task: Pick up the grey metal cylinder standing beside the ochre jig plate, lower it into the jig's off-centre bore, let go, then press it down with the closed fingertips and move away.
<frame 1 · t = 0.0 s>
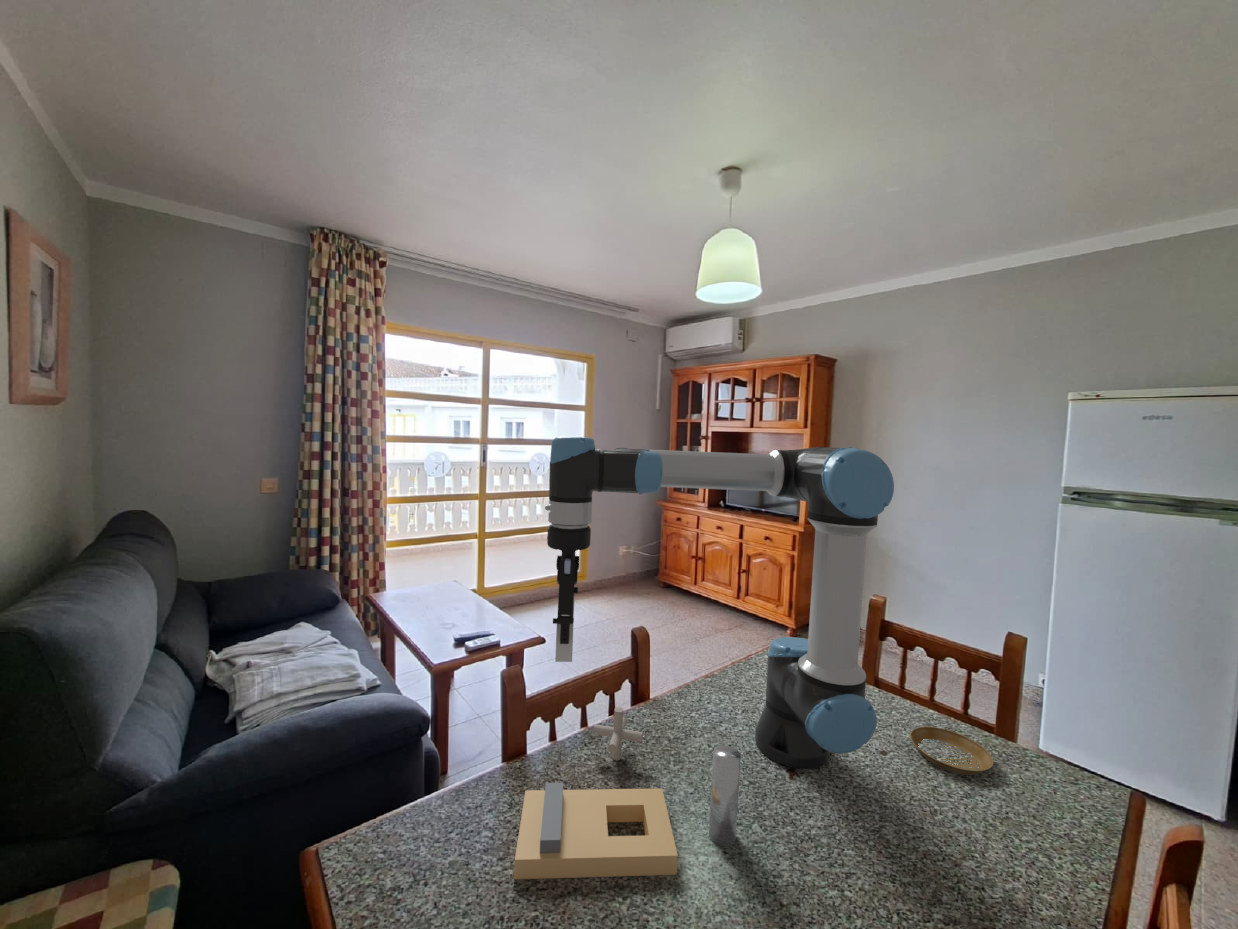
hand: (565, 643, 87), 28 cm above the table, tool pointing down, fingers open, 13 cm apart
pipe connector: (616, 758, 100), on the table
grey metal cylinder: (722, 835, 81), on the table
plant saucer: (949, 759, 104), on the table
jig: (595, 838, 79), on the table
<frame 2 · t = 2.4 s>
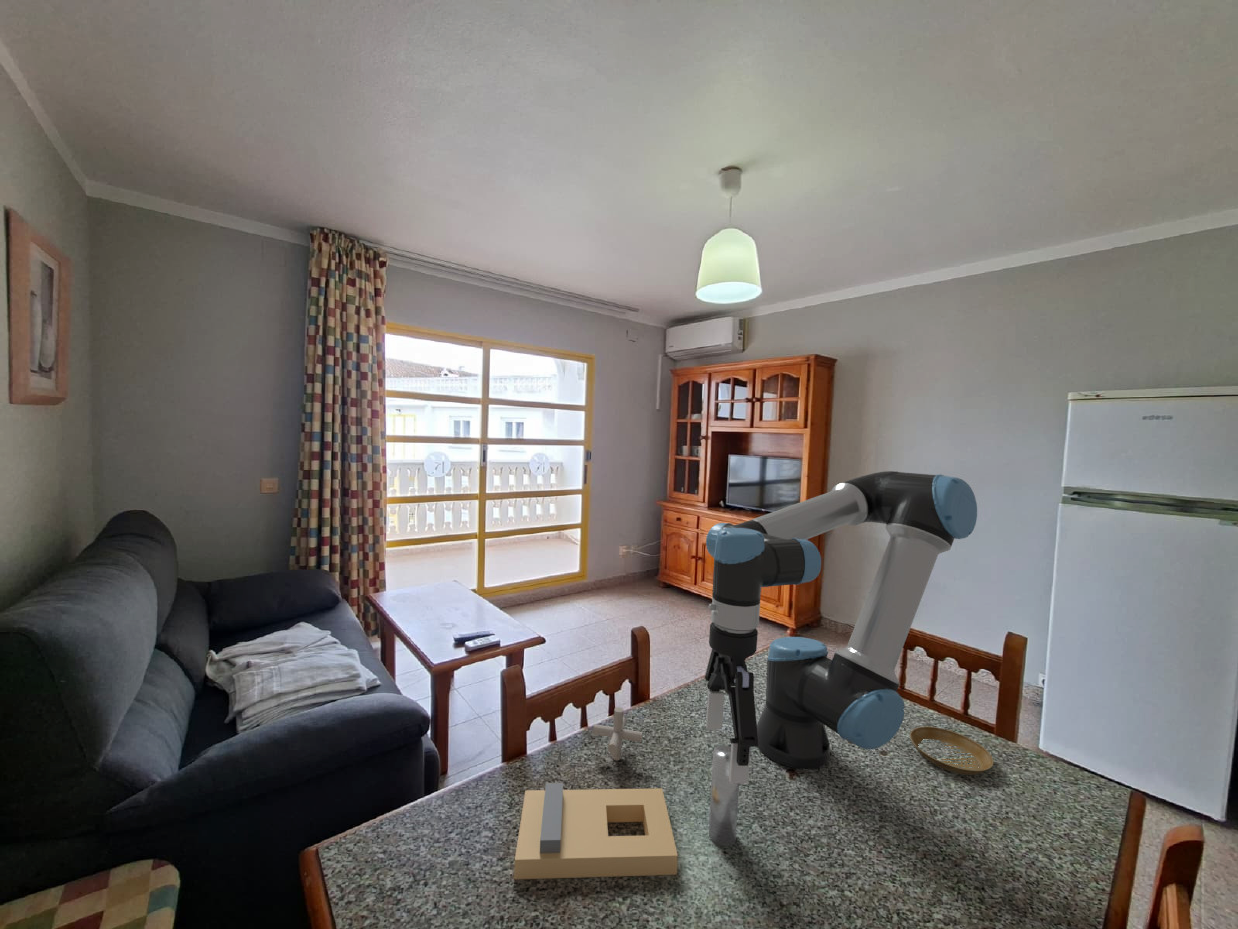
hand: (725, 753, 80), 14 cm above the table, tool pointing down, fingers open, 13 cm apart
nothing on the table moved.
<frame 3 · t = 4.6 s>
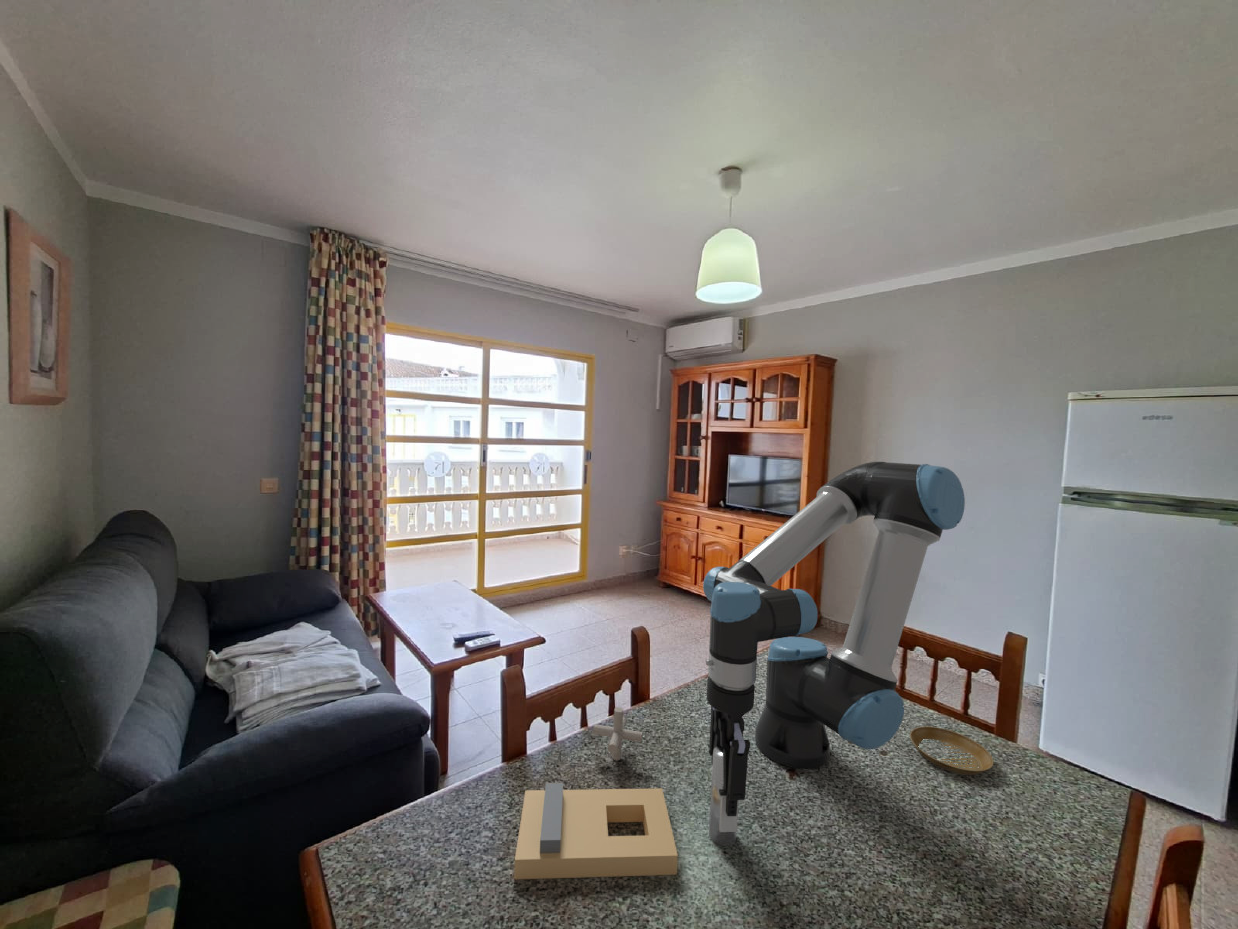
hand: (723, 817, 81), 3 cm above the table, tool pointing down, fingers closed on grey metal cylinder, 4 cm apart
grey metal cylinder: (722, 835, 81), on the table, touching gripper
everything else where it was.
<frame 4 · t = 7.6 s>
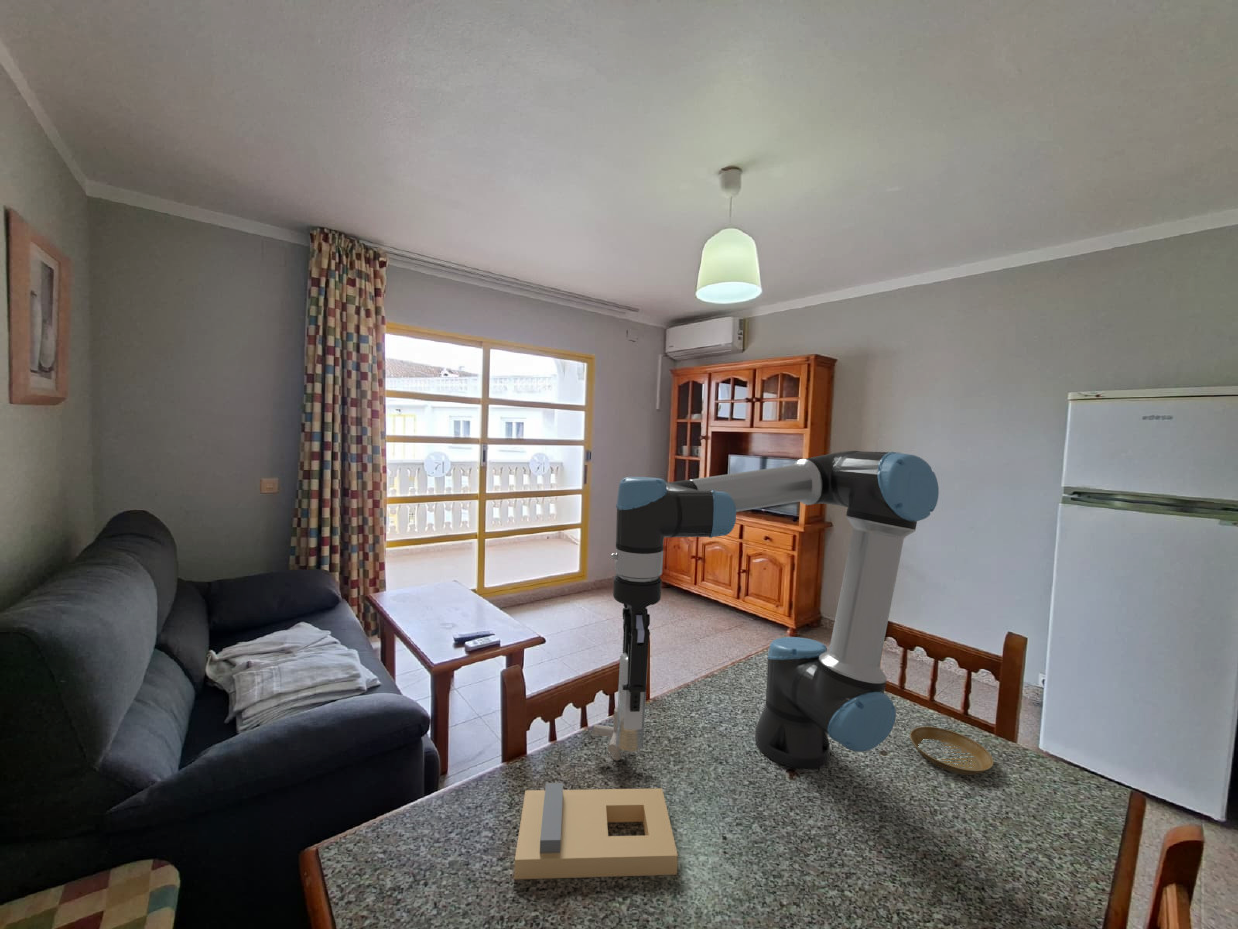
hand: (631, 718, 79), 20 cm above the table, tool pointing down, fingers closed on grey metal cylinder, 4 cm apart
grey metal cylinder: (629, 743, 79), point 16 cm above the table, touching gripper
everything else where it was.
when the fingers open (5 cm above the table, at t = 10.9 s): grey metal cylinder stays where it is, resting in jig.
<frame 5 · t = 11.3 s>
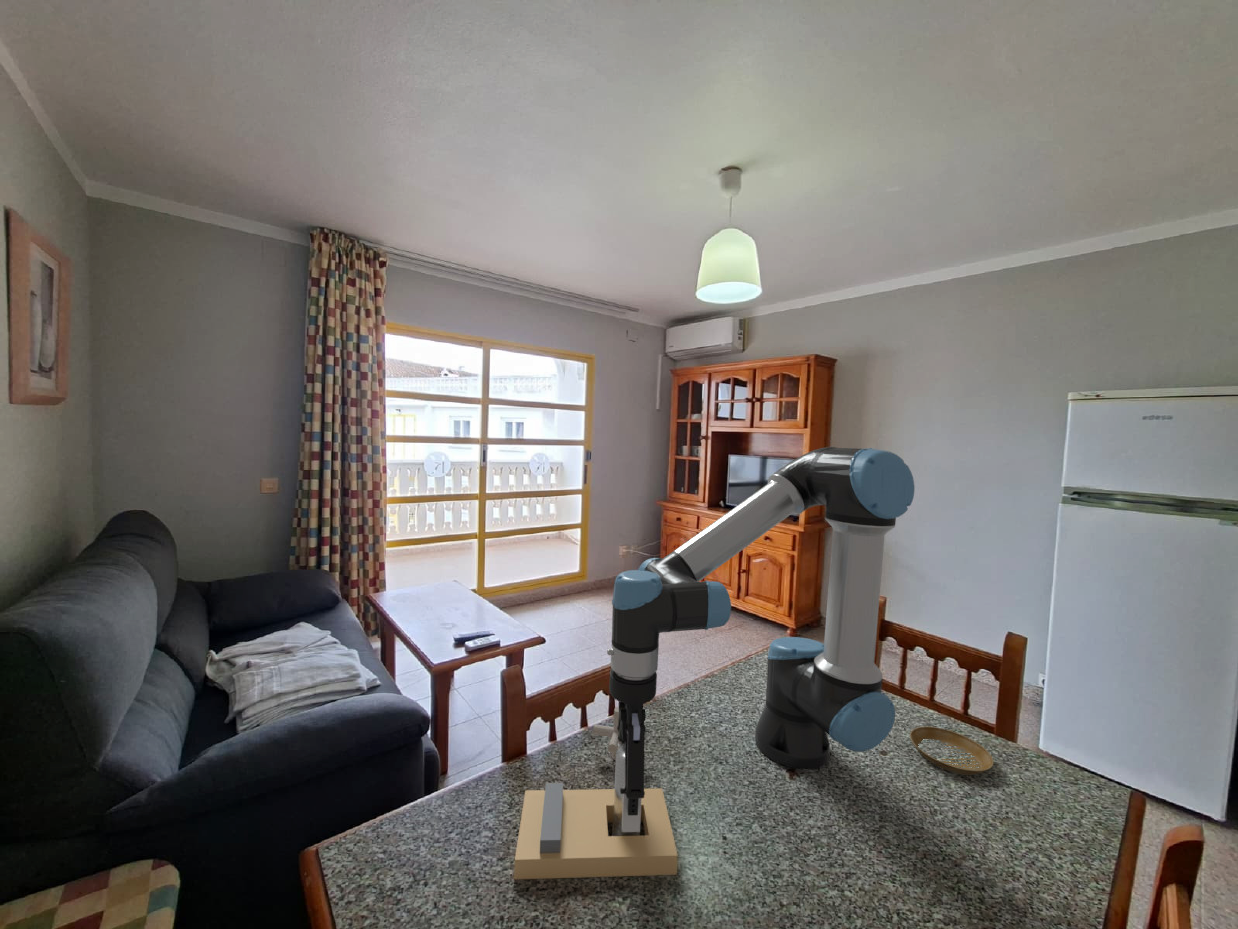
hand: (627, 804, 79), 6 cm above the table, tool pointing down, fingers open, 10 cm apart
grey metal cylinder: (625, 837, 80), resting in jig
everything else where it was.
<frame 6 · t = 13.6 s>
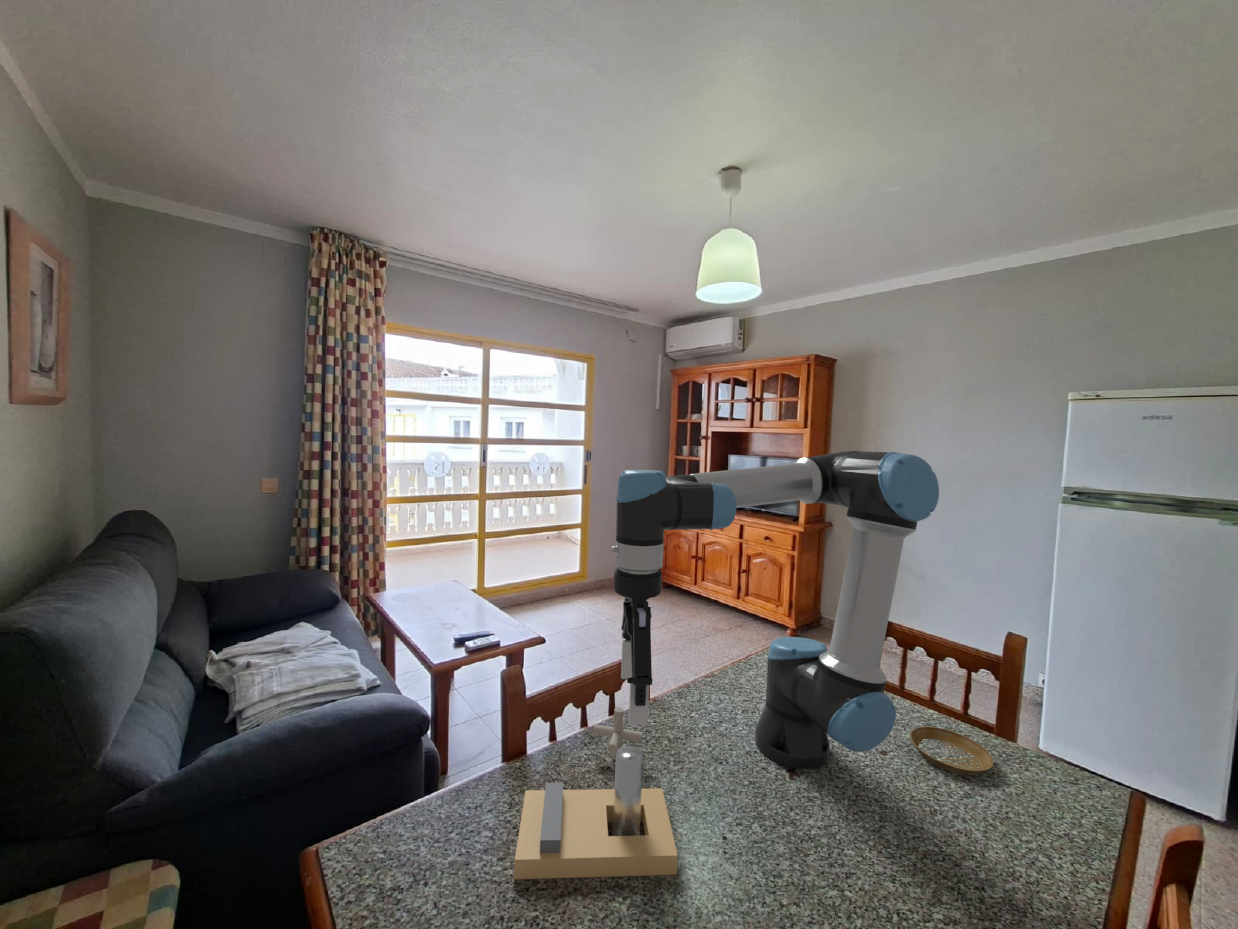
hand: (633, 698, 78), 23 cm above the table, tool pointing down, fingers open, 13 cm apart
nothing on the table moved.
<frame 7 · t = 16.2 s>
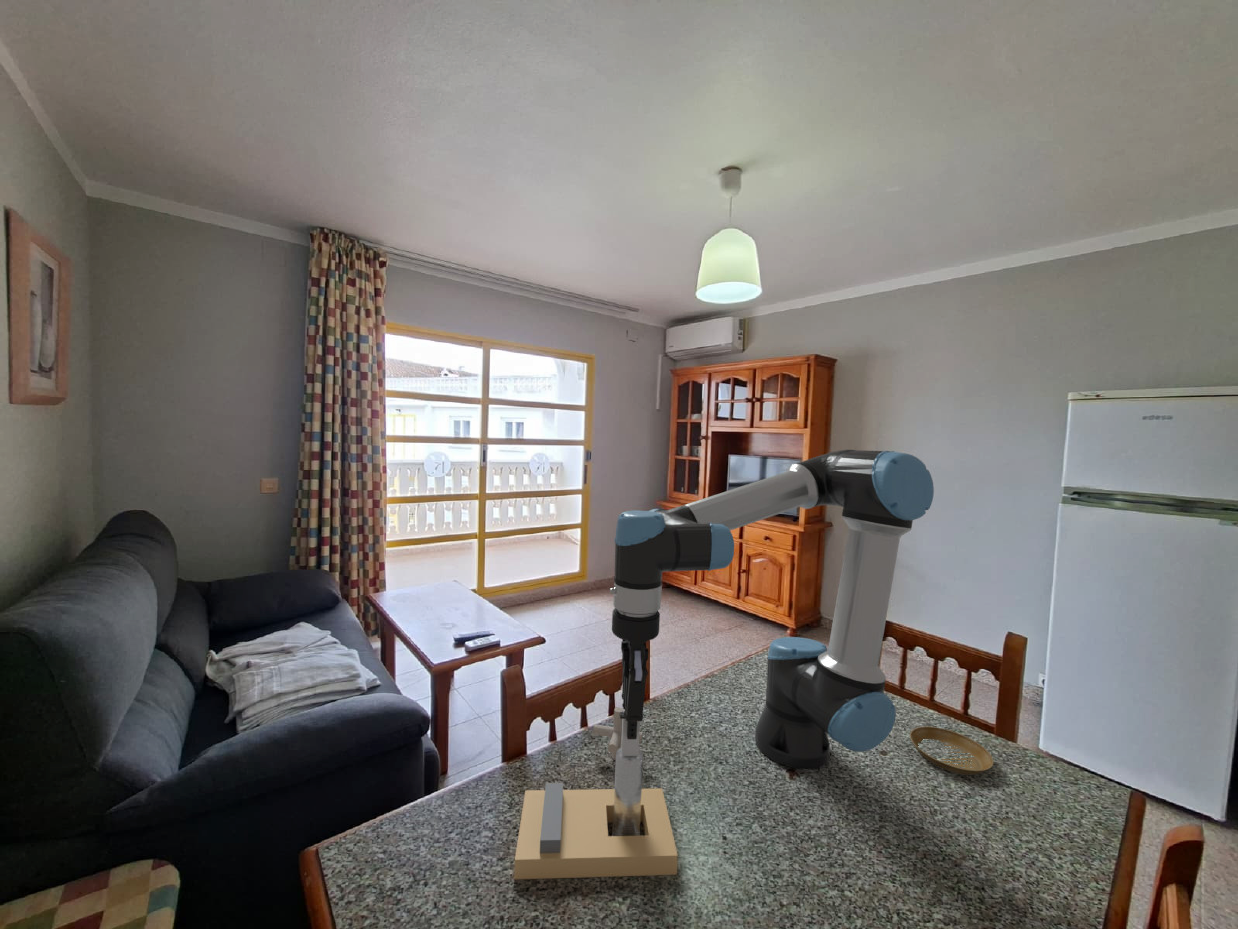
hand: (629, 753, 79), 14 cm above the table, tool pointing down, fingers closed
grey metal cylinder: (625, 837, 80), resting in jig, touching gripper
everything else where it was.
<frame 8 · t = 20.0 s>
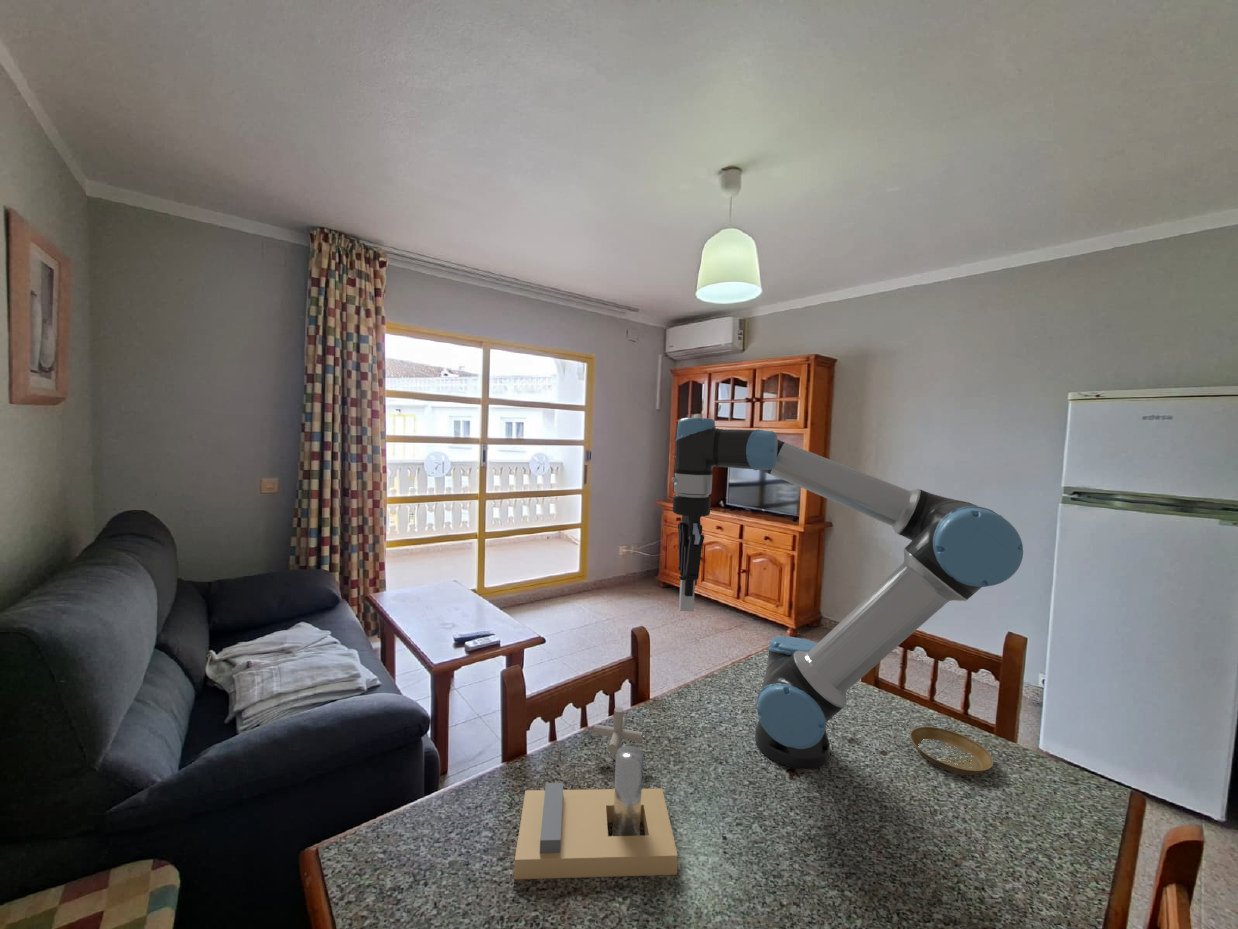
hand: (686, 609, 100), 30 cm above the table, tool pointing down, fingers closed
grey metal cylinder: (625, 837, 80), resting in jig
everything else where it was.
at the end: grey metal cylinder 0.0 cm from the target spot on the jig, point 0.0 cm above the jig's base; grey metal cylinder tilted 0°; the gripper is holding nothing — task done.
